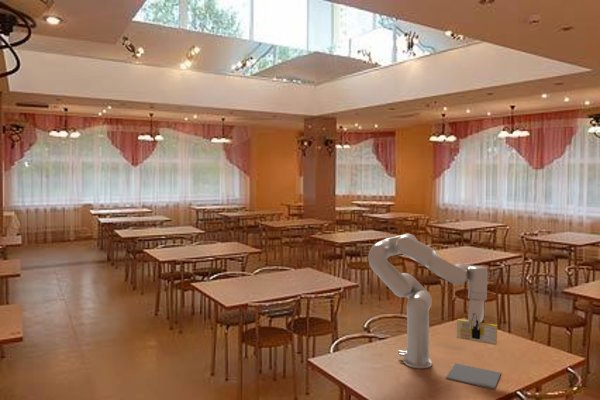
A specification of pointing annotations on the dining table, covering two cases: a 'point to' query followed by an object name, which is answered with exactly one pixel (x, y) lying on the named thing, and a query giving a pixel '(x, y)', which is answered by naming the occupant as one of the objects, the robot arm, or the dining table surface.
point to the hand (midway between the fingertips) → (476, 337)
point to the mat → (474, 376)
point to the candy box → (486, 332)
